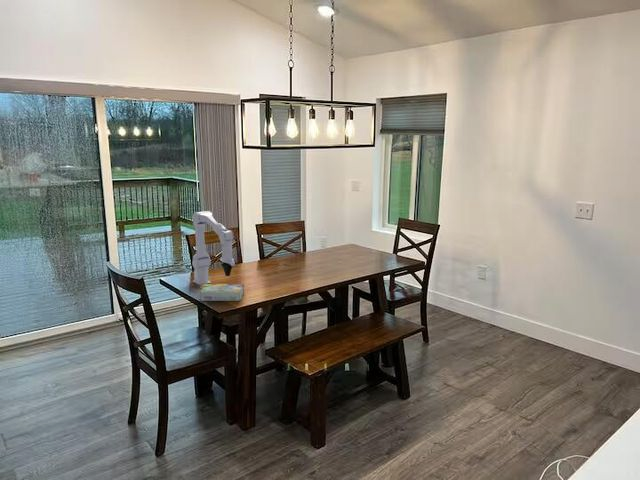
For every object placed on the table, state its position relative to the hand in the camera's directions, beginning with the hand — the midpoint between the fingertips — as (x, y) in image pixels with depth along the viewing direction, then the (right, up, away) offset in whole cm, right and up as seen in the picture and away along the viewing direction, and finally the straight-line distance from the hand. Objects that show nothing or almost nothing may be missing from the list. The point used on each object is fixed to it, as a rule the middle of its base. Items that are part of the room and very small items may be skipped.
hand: (227, 275), depth 260 cm
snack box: (-2, -7, +1) cm, 7 cm away
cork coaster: (-14, -8, +12) cm, 20 cm away
